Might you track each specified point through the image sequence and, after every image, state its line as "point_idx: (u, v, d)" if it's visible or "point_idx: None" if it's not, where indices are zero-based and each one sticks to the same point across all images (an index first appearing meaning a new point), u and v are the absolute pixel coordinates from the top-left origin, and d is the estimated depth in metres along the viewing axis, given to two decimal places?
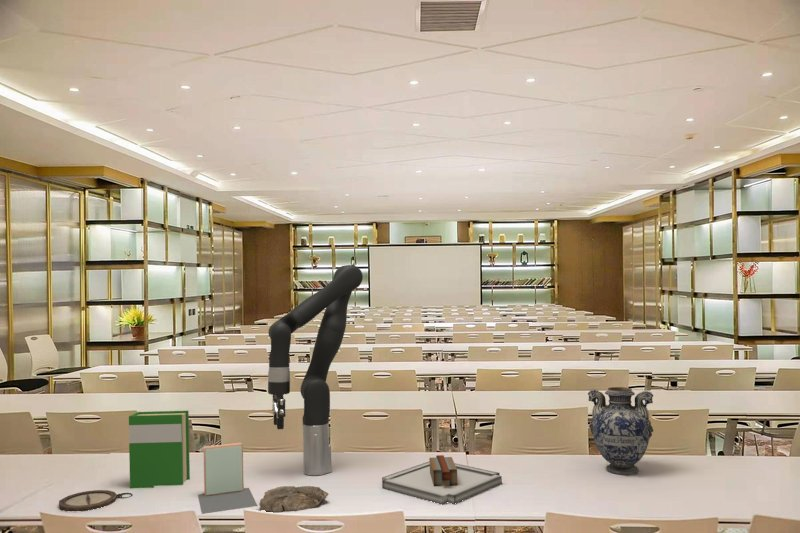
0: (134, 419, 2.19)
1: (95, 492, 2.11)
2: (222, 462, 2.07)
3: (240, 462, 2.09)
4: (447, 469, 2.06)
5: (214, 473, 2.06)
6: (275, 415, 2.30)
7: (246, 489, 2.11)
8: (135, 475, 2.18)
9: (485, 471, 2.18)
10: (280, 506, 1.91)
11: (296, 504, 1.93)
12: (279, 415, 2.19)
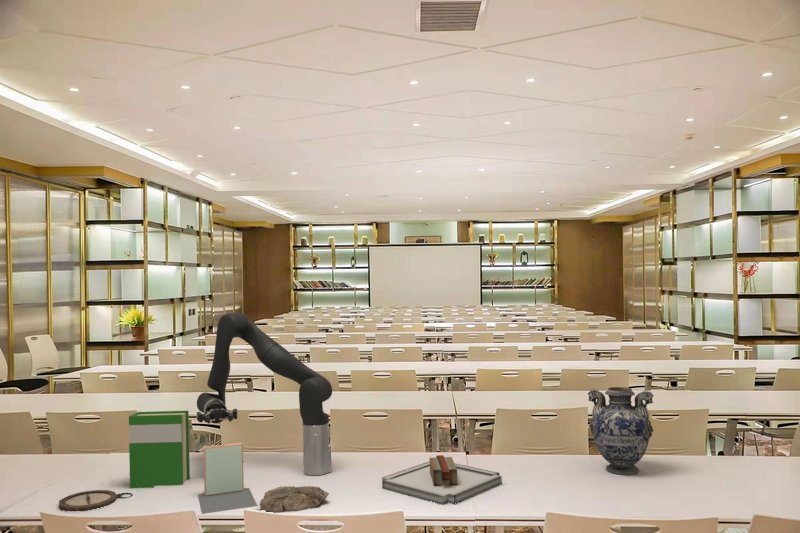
0: (134, 419, 2.19)
1: (95, 492, 2.11)
2: (222, 462, 2.07)
3: (240, 462, 2.09)
4: (447, 469, 2.06)
5: (214, 473, 2.06)
6: (228, 418, 2.22)
7: (246, 489, 2.11)
8: (135, 475, 2.18)
9: (485, 471, 2.18)
10: (280, 506, 1.91)
11: (297, 504, 1.92)
12: (199, 420, 2.21)
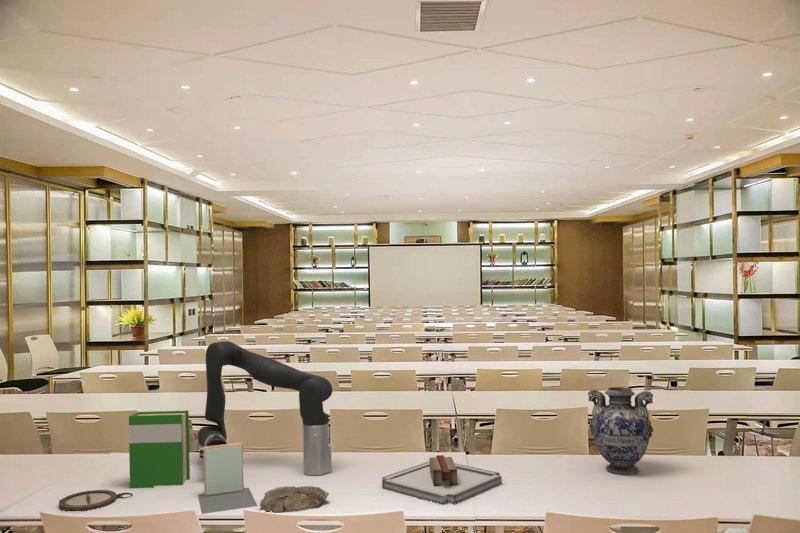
0: (134, 419, 2.19)
1: (95, 492, 2.11)
2: (222, 462, 2.07)
3: (240, 462, 2.09)
4: (447, 469, 2.06)
5: (214, 473, 2.06)
6: None
7: (246, 489, 2.11)
8: (135, 475, 2.18)
9: (485, 471, 2.18)
10: (281, 506, 1.91)
11: (297, 504, 1.92)
12: None
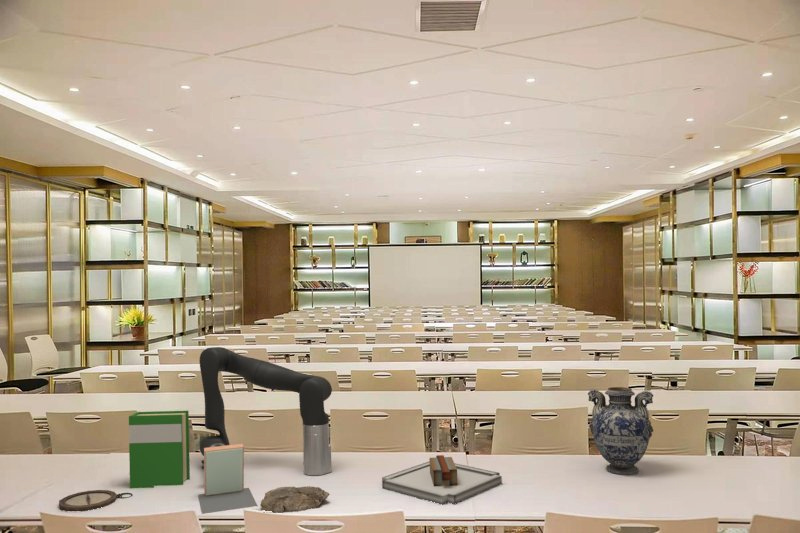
0: (134, 419, 2.19)
1: (95, 492, 2.11)
2: (223, 464, 2.06)
3: (241, 464, 2.08)
4: (447, 469, 2.06)
5: (214, 475, 2.05)
6: None
7: (246, 489, 2.11)
8: (135, 475, 2.18)
9: (485, 471, 2.18)
10: (281, 506, 1.91)
11: (298, 504, 1.92)
12: None
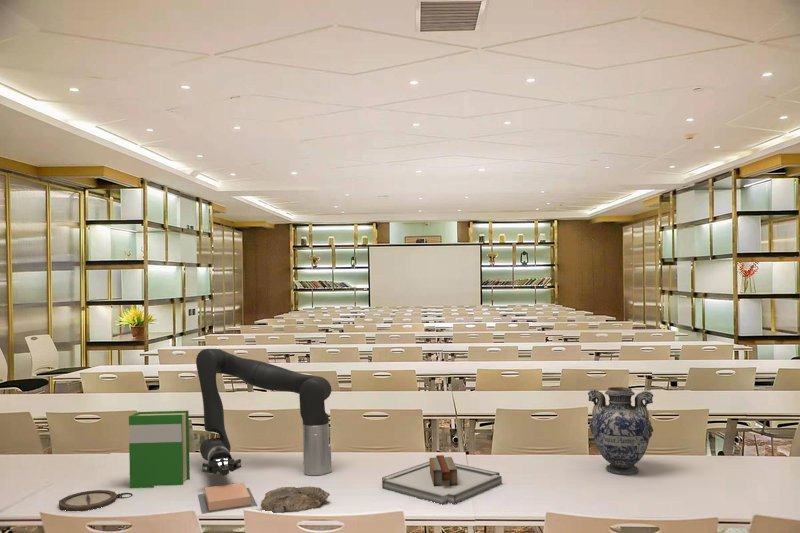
0: (134, 419, 2.19)
1: (95, 492, 2.11)
2: None
3: None
4: (447, 469, 2.06)
5: None
6: None
7: None
8: (135, 475, 2.18)
9: (485, 471, 2.18)
10: (282, 507, 1.91)
11: (298, 504, 1.92)
12: (213, 471, 2.09)
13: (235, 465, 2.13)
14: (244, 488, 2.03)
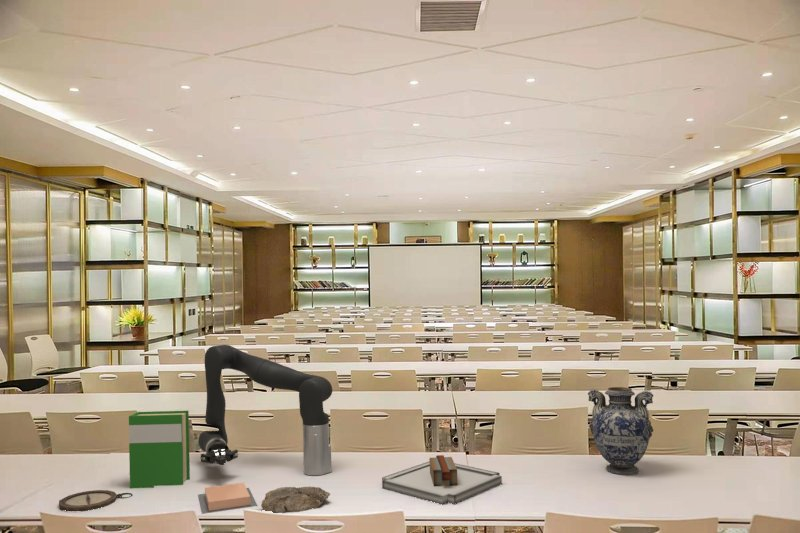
0: (134, 419, 2.19)
1: (95, 492, 2.11)
2: None
3: None
4: (447, 469, 2.06)
5: None
6: None
7: None
8: (135, 475, 2.18)
9: (485, 471, 2.18)
10: (282, 507, 1.90)
11: (299, 504, 1.92)
12: (210, 461, 2.19)
13: (232, 455, 2.22)
14: (244, 488, 2.03)
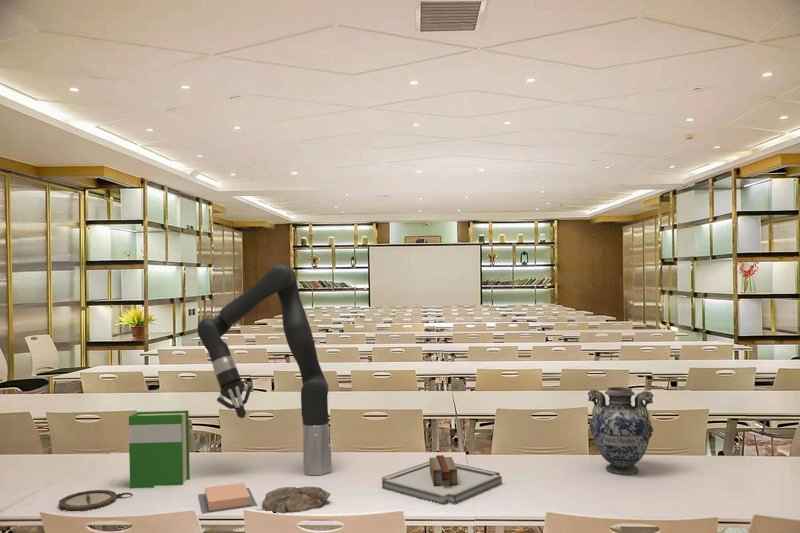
0: (134, 419, 2.19)
1: (95, 492, 2.11)
2: None
3: None
4: (447, 469, 2.06)
5: None
6: None
7: None
8: (135, 475, 2.18)
9: (485, 471, 2.18)
10: (283, 507, 1.90)
11: (299, 504, 1.92)
12: None
13: None
14: (244, 488, 2.03)
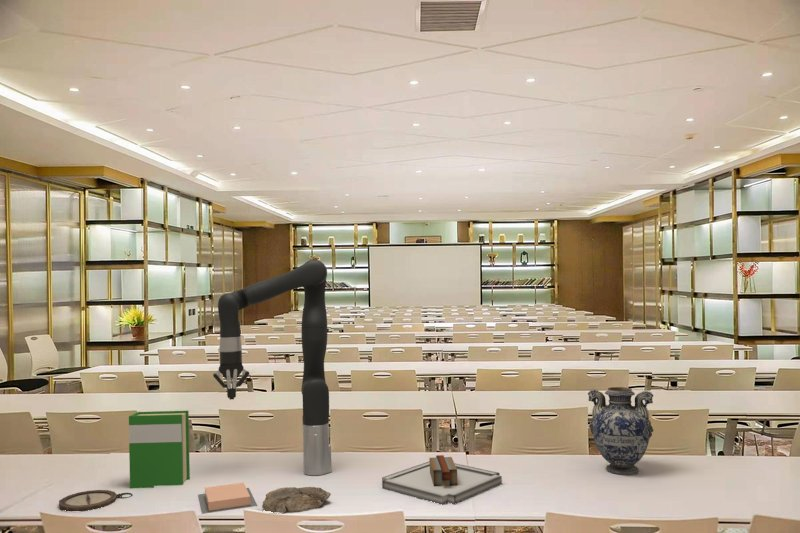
0: (134, 419, 2.19)
1: (95, 492, 2.11)
2: None
3: None
4: (447, 469, 2.06)
5: None
6: None
7: None
8: (135, 475, 2.18)
9: (485, 471, 2.18)
10: (284, 507, 1.90)
11: (300, 504, 1.92)
12: None
13: None
14: (244, 488, 2.03)
